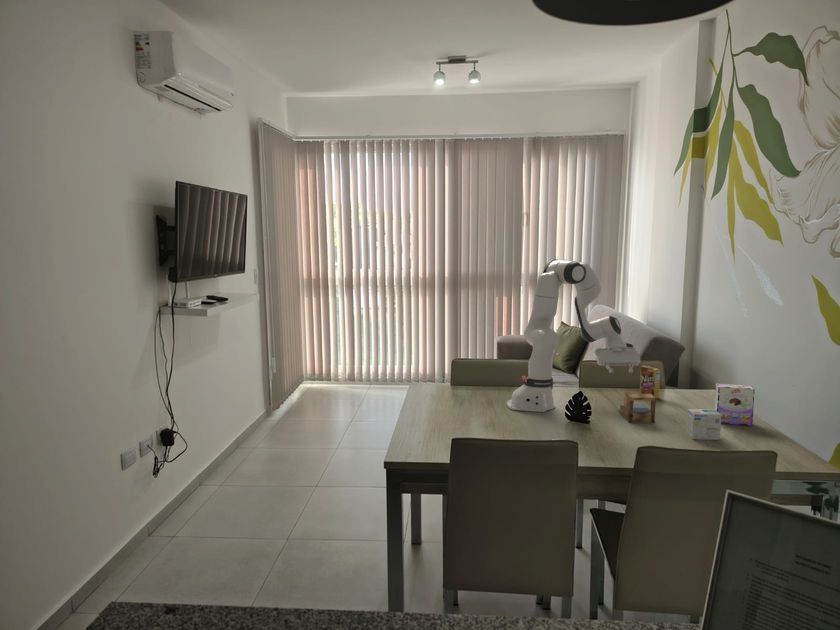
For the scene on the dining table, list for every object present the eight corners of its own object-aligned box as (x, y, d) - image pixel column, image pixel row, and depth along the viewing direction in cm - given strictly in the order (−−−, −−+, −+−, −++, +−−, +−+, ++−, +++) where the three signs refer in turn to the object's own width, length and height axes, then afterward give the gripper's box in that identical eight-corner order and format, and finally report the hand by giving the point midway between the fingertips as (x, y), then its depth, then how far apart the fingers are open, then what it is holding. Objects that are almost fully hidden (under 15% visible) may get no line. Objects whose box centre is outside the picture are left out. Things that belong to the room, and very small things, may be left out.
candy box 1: (638, 395, 275) (640, 365, 273) (644, 394, 277) (646, 365, 275) (653, 399, 268) (655, 369, 266) (659, 398, 270) (661, 368, 268)
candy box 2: (749, 422, 233) (751, 385, 231) (752, 426, 228) (755, 388, 226) (713, 418, 238) (715, 382, 236) (715, 423, 232) (718, 386, 230)
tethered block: (633, 421, 236) (634, 401, 235) (620, 409, 252) (621, 390, 251) (647, 421, 236) (648, 401, 234) (633, 409, 252) (634, 390, 251)
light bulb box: (713, 434, 219) (714, 408, 217) (720, 440, 212) (722, 414, 211) (685, 433, 220) (687, 408, 218) (692, 439, 213) (693, 413, 212)
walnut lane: (628, 422, 234) (629, 397, 232) (619, 413, 246) (620, 389, 244) (654, 422, 233) (655, 397, 232) (644, 413, 245) (645, 390, 244)
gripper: (595, 345, 267) (600, 368, 259) (637, 344, 266) (644, 368, 258) (593, 352, 272) (598, 375, 264) (634, 351, 271) (640, 375, 263)
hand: (621, 372), depth 261 cm, fingers open, 8 cm apart
